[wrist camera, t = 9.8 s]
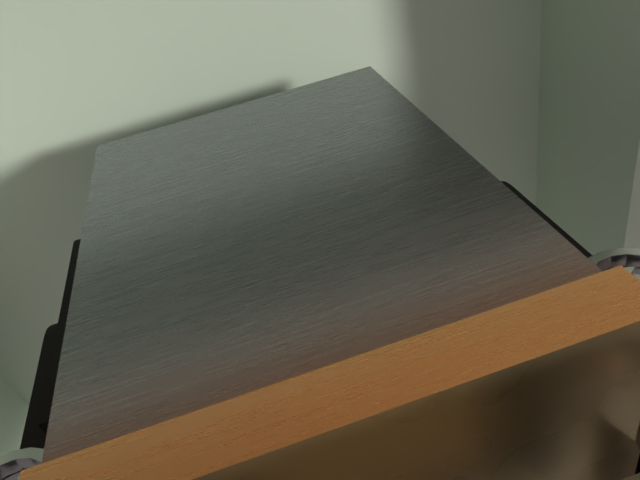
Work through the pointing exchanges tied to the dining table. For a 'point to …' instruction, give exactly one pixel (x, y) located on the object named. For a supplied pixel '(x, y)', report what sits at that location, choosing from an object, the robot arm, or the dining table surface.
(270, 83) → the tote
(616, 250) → the robot arm
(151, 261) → the tin
